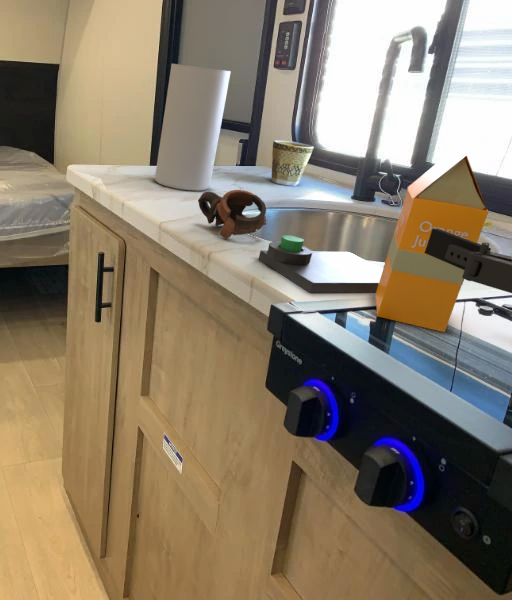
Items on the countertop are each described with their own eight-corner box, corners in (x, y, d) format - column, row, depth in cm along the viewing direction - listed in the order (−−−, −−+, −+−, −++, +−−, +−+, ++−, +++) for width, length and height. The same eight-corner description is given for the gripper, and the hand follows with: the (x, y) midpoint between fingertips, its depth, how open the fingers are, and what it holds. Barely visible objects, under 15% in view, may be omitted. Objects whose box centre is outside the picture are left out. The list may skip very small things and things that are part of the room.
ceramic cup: (298, 189, 149) (308, 148, 145) (259, 181, 153) (268, 141, 150) (311, 183, 159) (320, 145, 156) (275, 176, 164) (283, 138, 160)
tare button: (292, 247, 87) (295, 235, 86) (304, 253, 84) (307, 242, 84) (275, 246, 86) (278, 235, 85) (286, 253, 83) (289, 241, 83)
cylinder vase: (153, 176, 141) (170, 63, 132) (206, 183, 141) (226, 70, 132) (155, 186, 130) (173, 63, 120) (212, 194, 130) (234, 71, 120)
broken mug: (263, 234, 104) (279, 200, 98) (242, 268, 99) (258, 233, 92) (202, 204, 107) (214, 168, 100) (178, 235, 101) (189, 199, 95)
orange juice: (437, 308, 78) (492, 152, 70) (445, 332, 70) (509, 160, 62) (373, 293, 80) (420, 141, 72) (375, 316, 72) (427, 147, 65)
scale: (346, 260, 94) (351, 242, 92) (407, 292, 82) (414, 271, 81) (255, 259, 88) (259, 239, 87) (307, 293, 77) (312, 271, 76)
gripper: (577, 376, 44) (378, 274, 63) (772, 360, 52) (545, 274, 71) (621, 282, 41) (399, 203, 60) (820, 281, 50) (571, 212, 68)
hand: (478, 242), depth 65 cm, fingers open, 13 cm apart
